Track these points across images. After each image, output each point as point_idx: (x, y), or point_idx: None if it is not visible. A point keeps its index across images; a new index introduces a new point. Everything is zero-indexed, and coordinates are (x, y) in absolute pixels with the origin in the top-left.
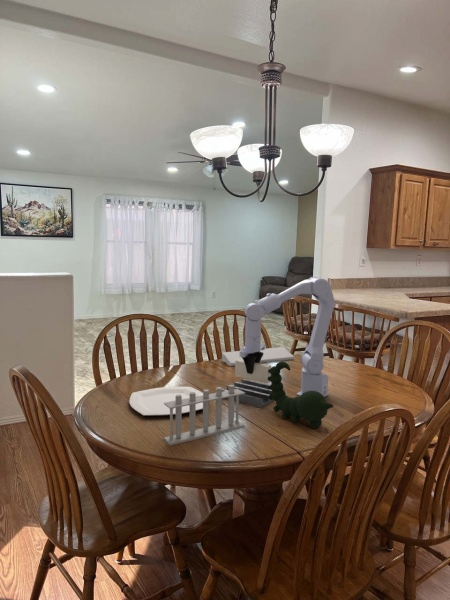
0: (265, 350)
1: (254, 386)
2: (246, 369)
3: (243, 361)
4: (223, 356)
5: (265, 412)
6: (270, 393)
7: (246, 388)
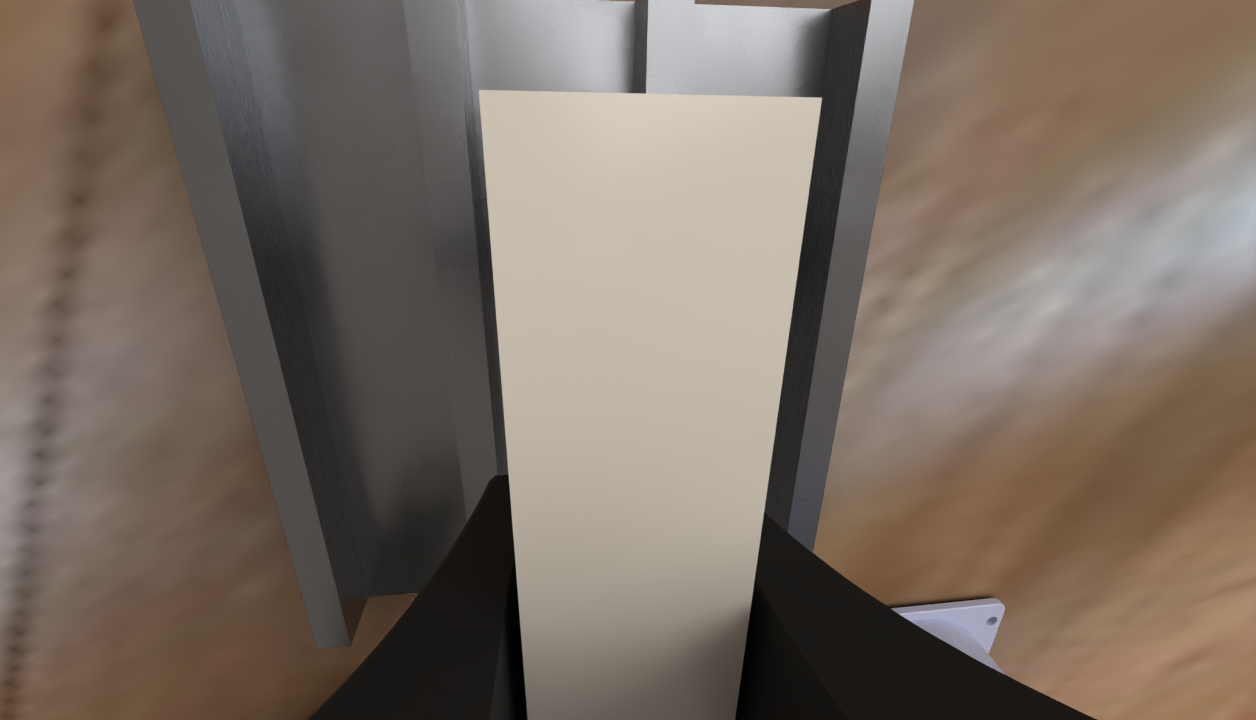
0: None
1: None
2: (470, 522)
3: (587, 469)
4: None
5: (293, 645)
6: None
7: None
